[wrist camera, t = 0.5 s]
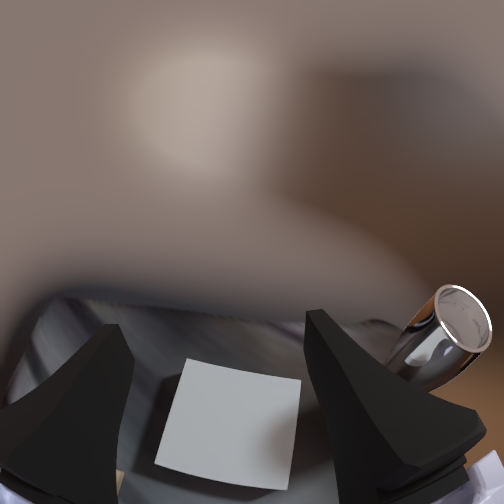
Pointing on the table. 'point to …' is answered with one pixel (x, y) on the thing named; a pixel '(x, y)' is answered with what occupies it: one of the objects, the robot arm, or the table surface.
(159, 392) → the table surface
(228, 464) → the ceramic box
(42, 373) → the table surface
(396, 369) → the beer glass
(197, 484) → the table surface
